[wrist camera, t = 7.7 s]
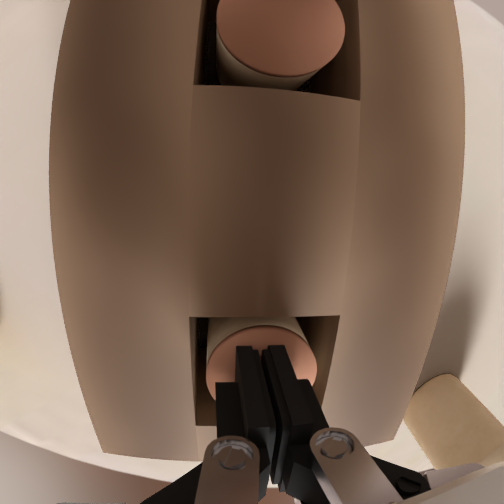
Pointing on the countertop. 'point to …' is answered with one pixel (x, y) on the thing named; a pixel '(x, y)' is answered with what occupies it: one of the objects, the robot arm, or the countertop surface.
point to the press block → (251, 211)
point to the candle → (453, 425)
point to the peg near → (276, 41)
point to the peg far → (254, 345)
